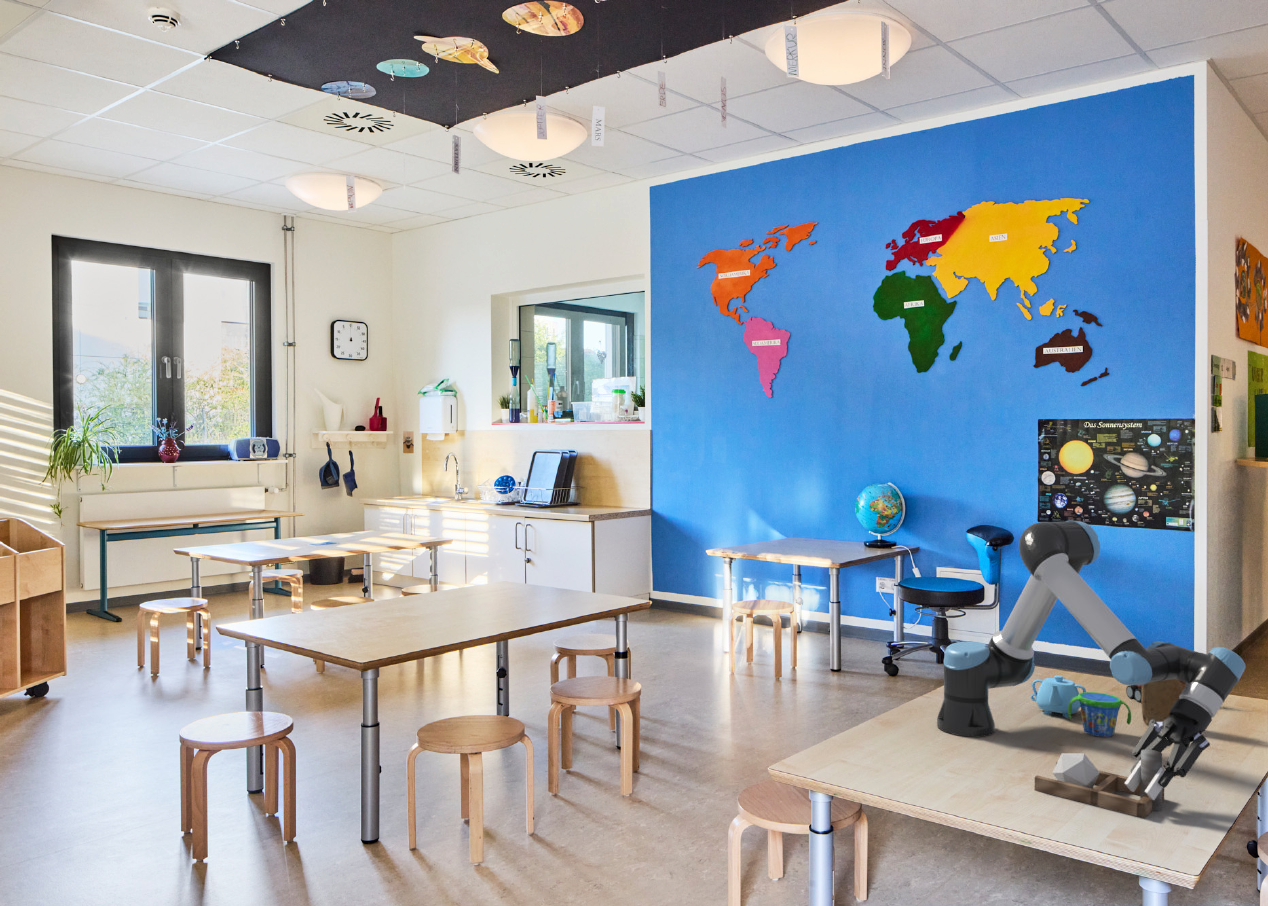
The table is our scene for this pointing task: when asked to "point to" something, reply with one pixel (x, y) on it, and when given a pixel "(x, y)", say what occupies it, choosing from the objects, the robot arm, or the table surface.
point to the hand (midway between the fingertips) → (1139, 791)
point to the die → (1076, 770)
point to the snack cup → (1099, 712)
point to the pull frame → (1112, 789)
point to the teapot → (1056, 695)
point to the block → (1160, 699)
